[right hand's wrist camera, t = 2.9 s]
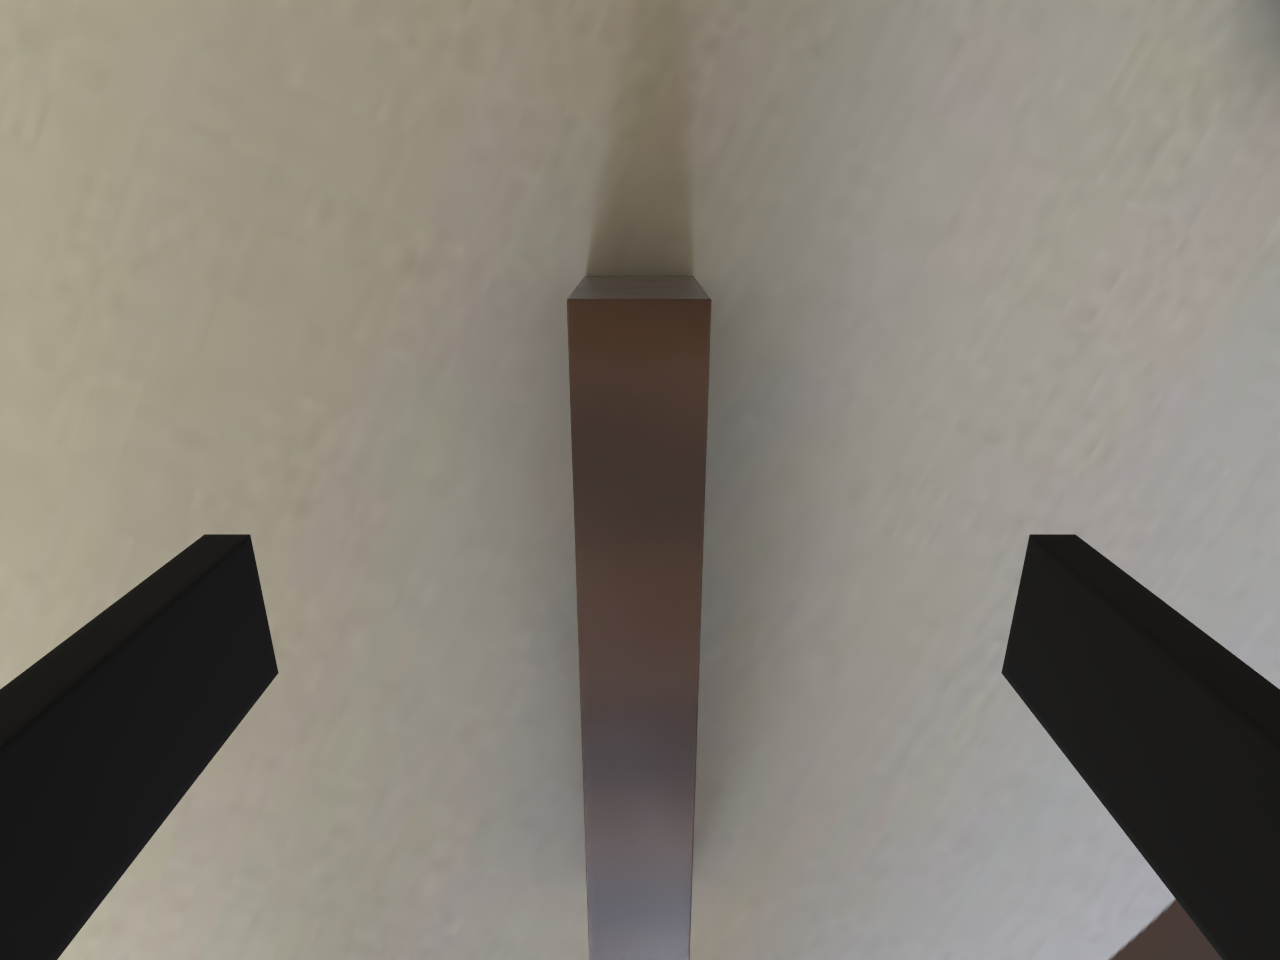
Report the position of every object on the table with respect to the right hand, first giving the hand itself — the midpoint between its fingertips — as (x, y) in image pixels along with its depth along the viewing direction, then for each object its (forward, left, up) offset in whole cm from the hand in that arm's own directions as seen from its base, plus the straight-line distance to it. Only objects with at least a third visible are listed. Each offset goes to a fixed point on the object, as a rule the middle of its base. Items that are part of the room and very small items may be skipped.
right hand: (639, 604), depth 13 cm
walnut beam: (+9, +7, -17) cm, 20 cm away
